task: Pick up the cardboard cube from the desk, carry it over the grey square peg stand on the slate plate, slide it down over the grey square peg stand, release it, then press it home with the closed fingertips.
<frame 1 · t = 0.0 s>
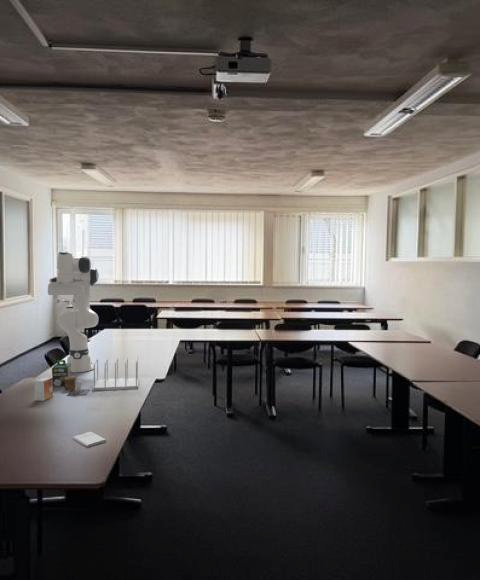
hand: (66, 302, 277), 48 cm above the table, fingers open, 8 cm apart
external hard drive: (89, 441, 194), on the table
chalk box: (62, 384, 277), on the table
small box: (44, 398, 250), on the table
file sorter: (116, 386, 274), on the table
grey square peg stand: (78, 392, 260), on the table
cardboard cube: (70, 388, 268), on the table
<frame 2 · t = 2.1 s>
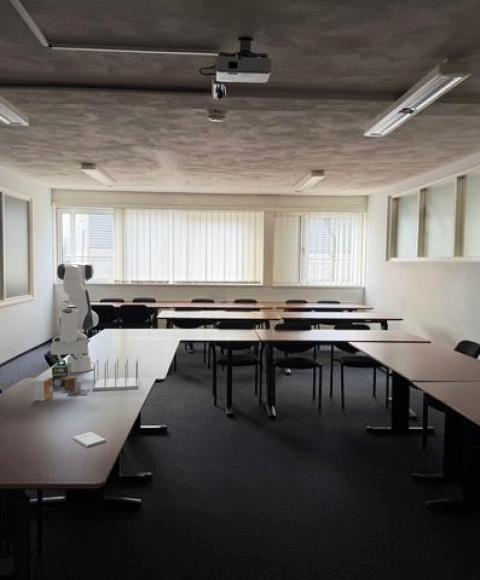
hand: (70, 361, 266), 16 cm above the table, fingers open, 8 cm apart
nothing on the table moved.
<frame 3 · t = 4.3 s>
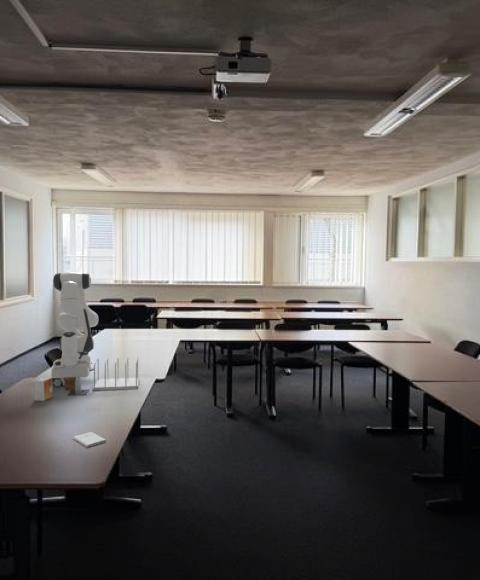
hand: (70, 385, 268), 2 cm above the table, fingers closed on cardboard cube, 5 cm apart
cardboard cube: (70, 388, 268), on the table, touching gripper
everything else where it was.
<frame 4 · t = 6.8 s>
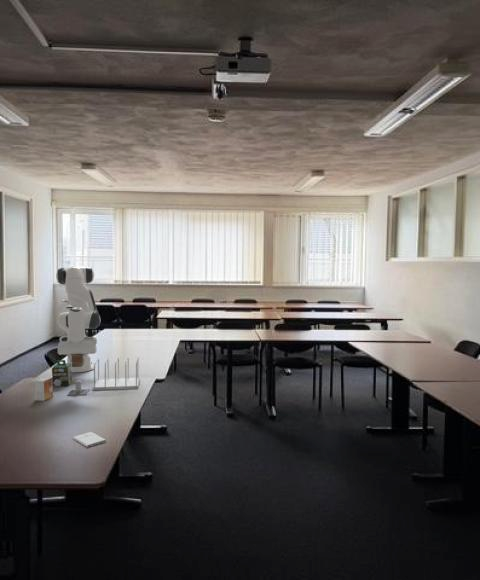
hand: (77, 362, 258), 17 cm above the table, fingers closed on cardboard cube, 5 cm apart
cardboard cube: (77, 365, 258), point 15 cm above the table, touching gripper
everything else where it was.
when the fingers open (4 cm above the table, at t = 9.4 s): cardboard cube drops 1 cm, resting on grey square peg stand.
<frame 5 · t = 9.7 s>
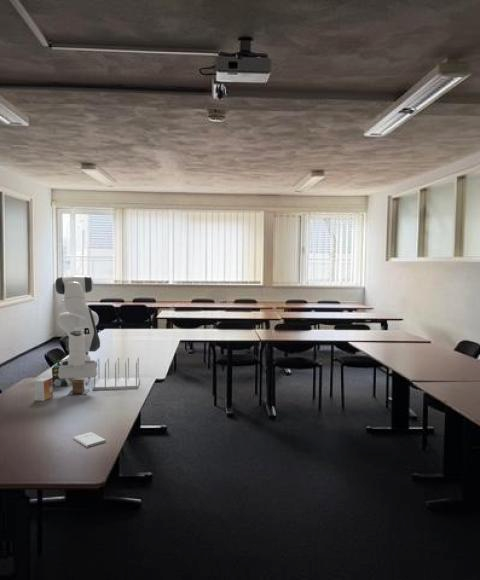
hand: (78, 385, 259), 4 cm above the table, fingers open, 8 cm apart
cardboard cube: (78, 391, 260), point 1 cm above the table, touching grey square peg stand
everything else where it was.
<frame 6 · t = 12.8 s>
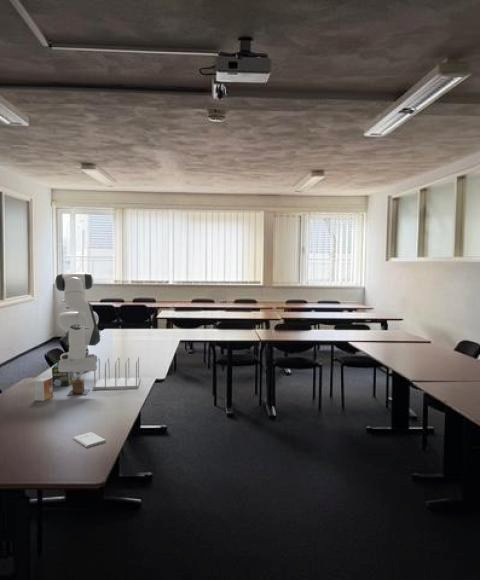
hand: (78, 379, 259), 8 cm above the table, fingers closed
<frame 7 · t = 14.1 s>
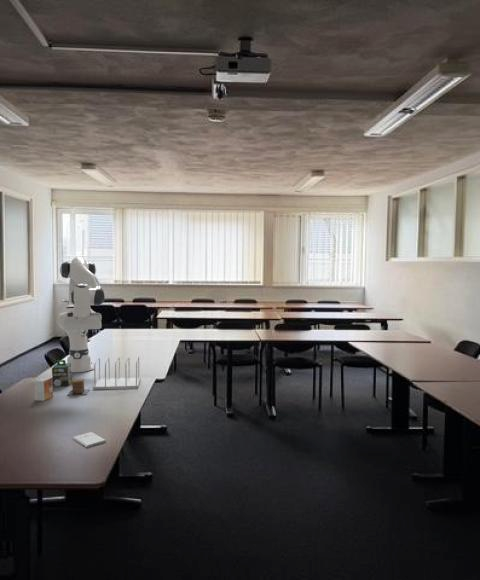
hand: (83, 337, 264), 30 cm above the table, fingers closed
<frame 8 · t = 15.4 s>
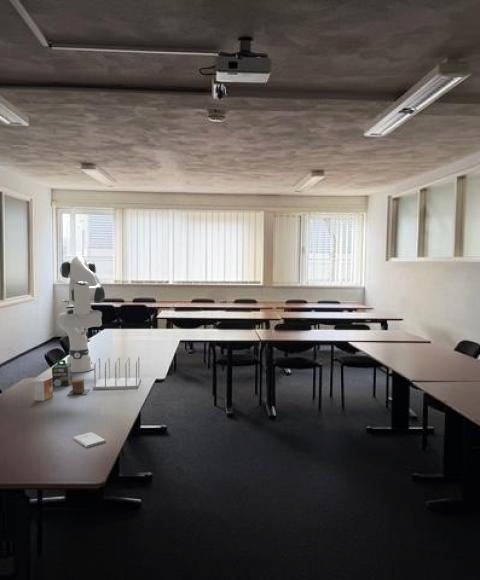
hand: (83, 334, 264), 31 cm above the table, fingers closed
at the end: cardboard cube 0.0 cm from the grey square peg stand (horizontally); cardboard cube point 0.6 cm above the table; cardboard cube tilted 0° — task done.
